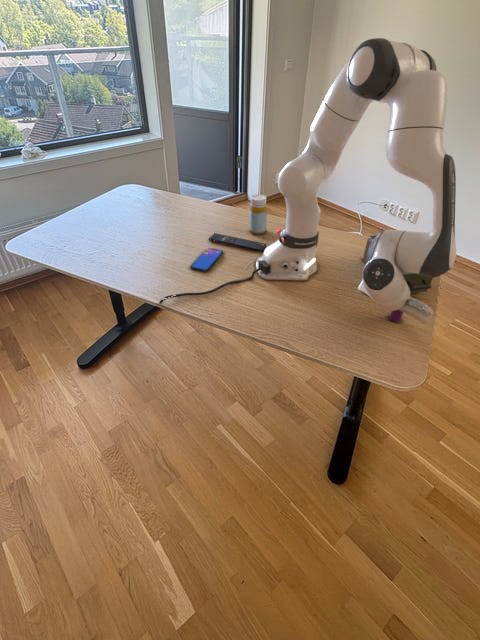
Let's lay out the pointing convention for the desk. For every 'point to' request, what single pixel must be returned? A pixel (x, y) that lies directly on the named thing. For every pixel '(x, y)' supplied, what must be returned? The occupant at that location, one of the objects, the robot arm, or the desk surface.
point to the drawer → (417, 282)
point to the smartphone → (206, 260)
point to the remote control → (238, 242)
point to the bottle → (258, 214)
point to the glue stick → (396, 315)
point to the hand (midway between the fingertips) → (400, 306)
